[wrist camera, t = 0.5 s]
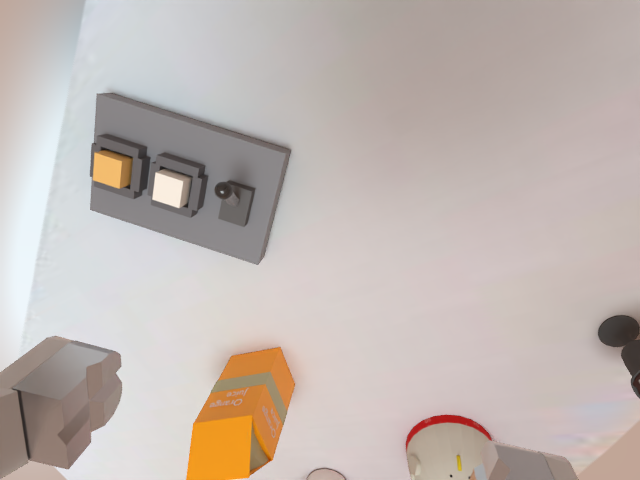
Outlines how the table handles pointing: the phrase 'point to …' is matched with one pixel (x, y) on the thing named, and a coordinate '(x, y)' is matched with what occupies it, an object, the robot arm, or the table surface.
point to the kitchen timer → (445, 448)
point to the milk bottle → (325, 475)
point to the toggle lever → (226, 193)
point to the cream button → (171, 188)
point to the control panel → (197, 162)
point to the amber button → (112, 168)
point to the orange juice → (241, 417)
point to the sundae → (624, 344)
